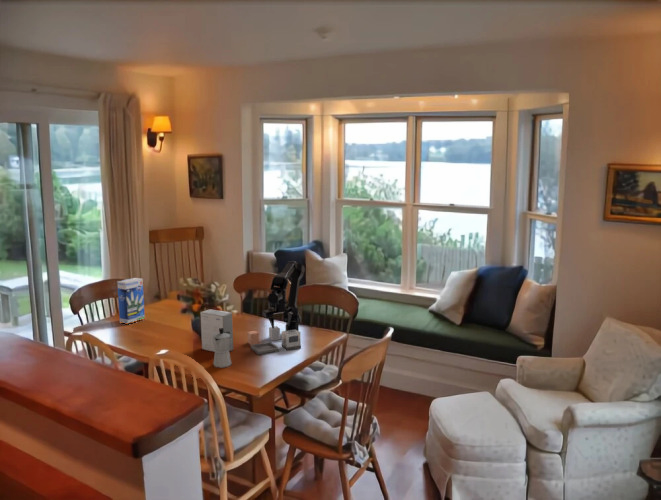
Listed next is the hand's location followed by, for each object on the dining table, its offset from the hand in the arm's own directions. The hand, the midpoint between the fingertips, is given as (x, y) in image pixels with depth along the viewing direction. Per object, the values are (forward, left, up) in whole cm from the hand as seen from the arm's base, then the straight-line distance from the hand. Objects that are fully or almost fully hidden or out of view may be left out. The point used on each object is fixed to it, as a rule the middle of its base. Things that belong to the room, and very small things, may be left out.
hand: (281, 327), depth 303 cm
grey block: (+1, -7, -8) cm, 11 cm away
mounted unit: (-1, +11, -8) cm, 14 cm away
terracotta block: (+14, -5, -8) cm, 17 cm away
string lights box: (+65, -76, -8) cm, 100 cm away
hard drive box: (+34, -4, -8) cm, 35 cm away
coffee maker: (+37, +17, -8) cm, 42 cm away
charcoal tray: (+13, +8, -8) cm, 17 cm away
